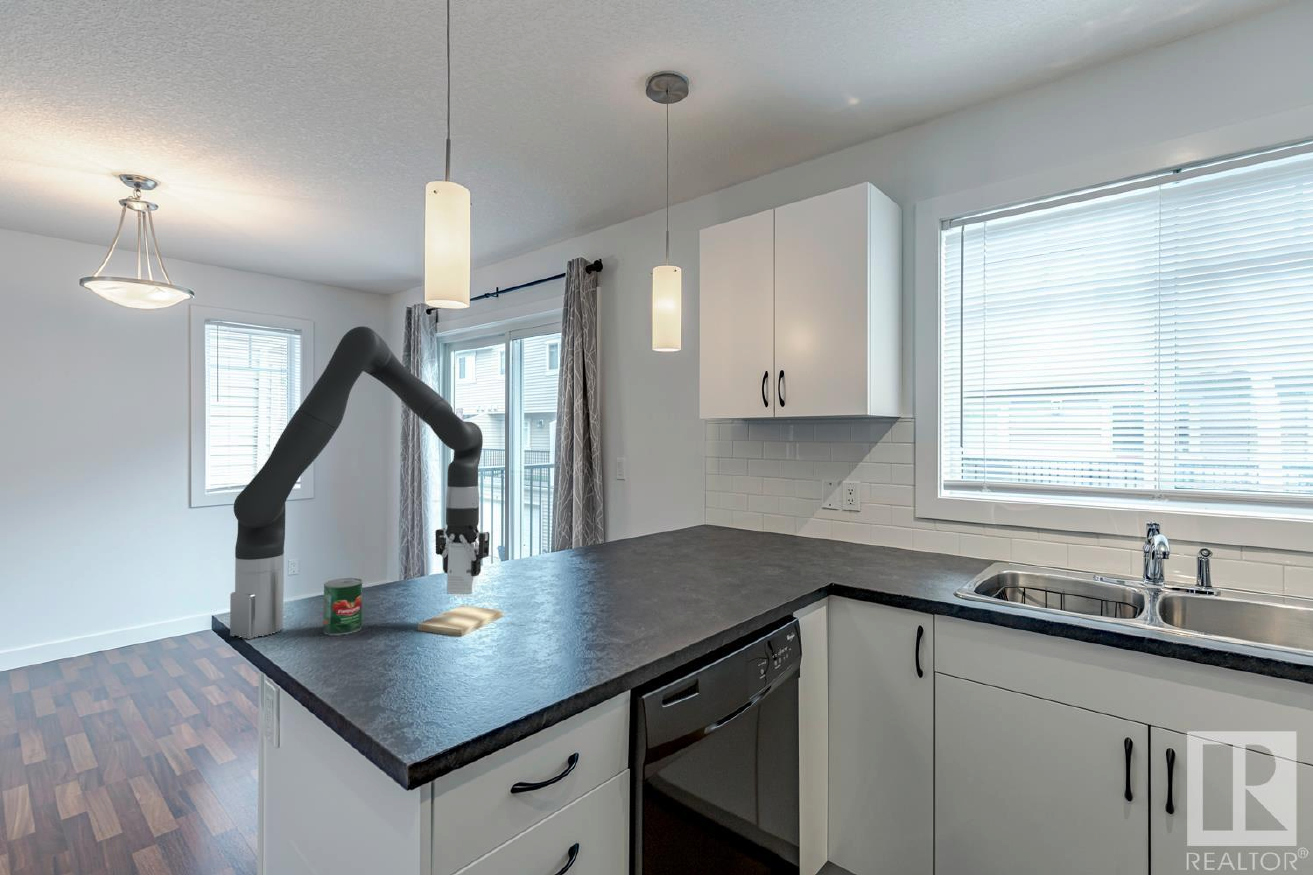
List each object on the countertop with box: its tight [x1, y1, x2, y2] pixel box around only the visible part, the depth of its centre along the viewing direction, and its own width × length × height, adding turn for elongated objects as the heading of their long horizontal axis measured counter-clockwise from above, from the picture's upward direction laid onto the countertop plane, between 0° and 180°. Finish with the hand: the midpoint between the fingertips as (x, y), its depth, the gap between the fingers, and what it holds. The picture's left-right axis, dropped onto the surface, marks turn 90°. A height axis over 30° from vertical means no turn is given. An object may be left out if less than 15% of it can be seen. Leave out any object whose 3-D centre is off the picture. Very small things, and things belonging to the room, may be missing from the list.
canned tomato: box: [323, 577, 363, 636], centre depth 140 cm, size 8×8×11 cm
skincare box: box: [446, 542, 476, 595], centre depth 146 cm, size 6×4×12 cm
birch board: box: [417, 605, 504, 637], centre depth 146 cm, size 16×12×2 cm
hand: (461, 574), depth 146 cm, fingers closed on skincare box, 7 cm apart
